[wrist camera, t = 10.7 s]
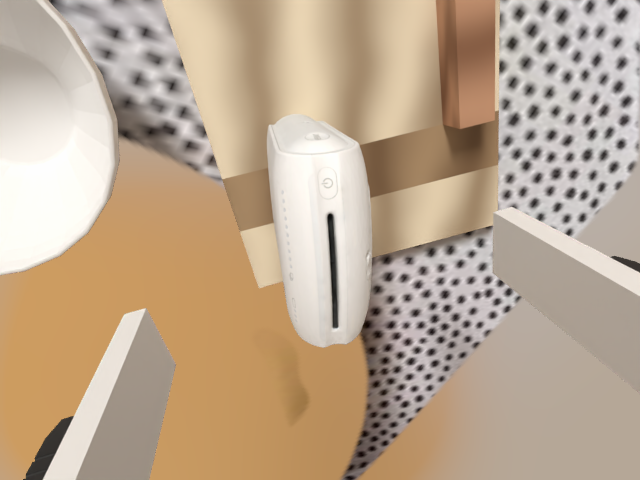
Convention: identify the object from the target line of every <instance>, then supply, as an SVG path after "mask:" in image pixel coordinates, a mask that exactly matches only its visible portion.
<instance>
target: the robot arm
mask: <svg viewBox="0 0 640 480" xmlns="http://www.w3.org/2000/svg"><path fill="white" fill-rule="evenodd" d="M493 274H495V275H496V276H497V277H498V278H499V279H501V280H502V281H503V282H504V283H506V284H507V285H508V286H509V287H510V288H512V289H513V290H514V291H515V292H517V293H518V294H519V295H520V296H521V297H523V298H524V299H525V300H526V301H528V302H529V303H530V304H531V305H532V306H534V307H535V308H536V309H537V310H538V311H540V312H541V313H542V314H543V315H545V316H546V317H547V318H548V319H549V320H551V321H552V322H553V323H554V324H556V325H557V326H558V327H559V328H561V329H562V330H563V331H564V332H566V333H567V334H568V335H569V336H571V337H572V338H573V339H574V340H575V341H576V342H578V343H579V344H580V345H581V346H582V347H584V348H585V349H586V350H587V351H589V352H590V353H591V354H592V355H593V356H595V357H596V358H597V359H598V360H599V361H601V362H602V363H603V364H604V365H606V366H607V367H608V368H609V369H611V370H612V371H613V372H614V373H615V374H617V375H618V376H619V377H620V378H622V379H623V380H624V381H625V382H626V383H628V384H629V385H630V386H631V387H632V388H634V389H635V390H636V391H637V392H638V393H640V264H639V263H637V262H635V261H631V260H628V259H624V258H620V257H616V256H612V257H608V256H606V255H604V254H602V253H600V252H598V251H597V250H595V249H593V248H591V247H589V246H587V245H585V244H583V243H581V242H579V241H577V240H575V239H573V238H571V237H569V236H567V235H565V234H563V233H562V232H560V231H558V230H556V229H554V228H552V227H550V226H548V225H546V224H544V223H542V222H540V221H538V220H536V219H534V218H532V217H530V216H528V215H527V214H525V213H523V212H521V211H519V210H517V209H515V208H513V207H510V208H507V209H503V210H500V211H496V212H493ZM175 366H176V364H175V362H174V360H173V358H172V356H171V355H170V352H169V350H168V349H167V347H166V345H165V343H164V341H163V339H162V337H161V335H160V333H159V331H158V330H157V328H156V326H155V324H154V322H153V320H152V318H151V316H150V314H149V312H148V310H147V309H146V308H145V309H141V310H138V311H134V312H130V313H127V314H124V316H123V318H122V320H121V322H120V324H119V326H118V328H117V330H116V332H115V334H114V336H113V338H112V340H111V342H110V344H109V346H108V348H107V350H106V352H105V354H104V357H103V359H102V361H101V363H100V365H99V367H98V369H97V371H96V373H95V375H94V377H93V379H92V381H91V383H90V385H89V387H88V389H87V391H86V393H85V395H84V397H83V399H82V401H81V403H80V405H79V407H78V409H77V411H76V414H75V415H74V416H72V417H69V418H65V419H62V420H61V421H60V422H59V424H58V425H57V426H56V427H55V428H54V429H53V431H51V433H50V434H49V435H48V436H47V437H46V438H45V440H44V442H43V444H42V446H41V448H40V449H39V451H38V453H37V455H36V457H35V462H32V464H31V466H30V468H29V470H28V472H27V473H26V479H23V480H149V478H150V474H151V470H152V465H153V461H154V456H155V453H156V448H157V444H158V440H159V435H160V431H161V427H162V422H163V418H164V414H165V410H166V405H167V401H168V397H169V392H170V388H171V384H172V379H173V375H174V371H175Z"/></svg>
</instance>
